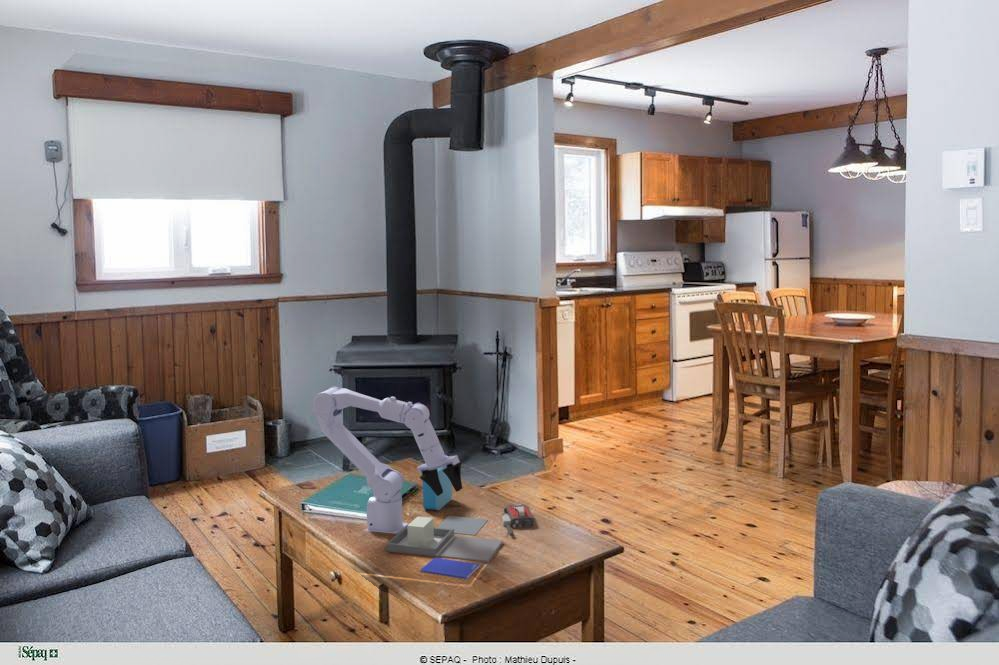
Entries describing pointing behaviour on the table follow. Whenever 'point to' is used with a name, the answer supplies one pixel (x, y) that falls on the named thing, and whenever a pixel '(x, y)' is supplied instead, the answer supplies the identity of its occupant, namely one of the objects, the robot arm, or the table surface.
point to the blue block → (431, 498)
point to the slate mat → (463, 525)
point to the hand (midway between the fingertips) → (449, 492)
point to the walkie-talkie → (517, 517)
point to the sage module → (421, 531)
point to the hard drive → (450, 568)
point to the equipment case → (447, 546)
